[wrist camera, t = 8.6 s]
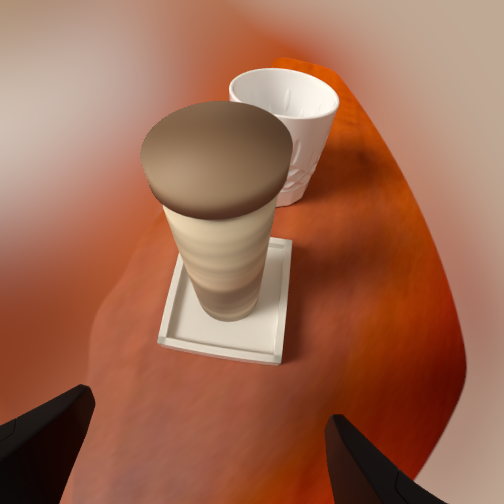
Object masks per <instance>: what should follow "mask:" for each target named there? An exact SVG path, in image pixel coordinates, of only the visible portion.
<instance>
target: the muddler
mask: <svg viewBox="0 0 504 504" xmlns="http://www.w3.org/2000/svg"><path fill="white" fill-rule="evenodd" d="M292 152H293V141H292V137H291V134H290V132H289V130H288V129H287V127H286V126H285V125H284V124H283V122H282V121H281V120H279V119H278V118H277V117H276V116H274V115H273V114H271V113H270V112H268V111H266V110H264V109H261V108H259V107H256V106H253V105H250V104H246V103H241V102H233V101H213V102H205V103H199V104H195V105H191V106H188V107H185V108H182V109H180V110H177V111H175V112H173V113H171V114H170V115H168V116H166V117H165V118H163V119H162V120H161V121H159V122H158V123H157V124H156V125H155V126H154V127H153V128H152V129H151V130H150V132H149V133H148V134H147V136H146V137H145V139H144V142H143V144H142V148H141V162H142V166H143V169H144V172H145V174H146V177H147V180H148V183H149V186H150V188H151V191H152V193H153V194H154V196H155V197H156V199H157V200H159V202H160V203H161V204H162V205H163V208H164V211H165V214H166V217H167V219H168V222H169V225H170V228H171V231H172V233H173V236H174V239H175V241H176V244H177V247H178V249H179V252H180V255H181V257H182V260H183V263H184V265H185V268H186V270H187V273H188V275H189V278H190V280H191V283H192V285H193V288H194V290H195V293H196V295H197V298H198V300H199V302H200V305H201V307H202V308H203V310H204V311H205V312H206V313H207V314H208V315H209V316H210V317H212V318H214V319H216V320H219V321H223V322H234V321H238V320H241V319H243V318H245V317H246V316H247V315H249V314H250V313H251V312H252V311H253V309H254V308H255V306H256V304H257V301H258V297H259V292H260V287H261V282H262V277H263V271H264V266H265V261H266V256H267V251H268V245H269V240H270V235H271V229H272V224H273V218H274V213H275V208H276V202H277V197H278V194H279V192H280V191H281V190H282V188H283V187H284V184H285V182H286V180H287V176H288V172H289V167H290V162H291V157H292Z"/></svg>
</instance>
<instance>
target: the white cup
mask: <svg viewBox="0 0 504 504" xmlns="http://www.w3.org/2000/svg"><path fill="white" fill-rule="evenodd" d="M229 91H230V101H233V102H241V103H246V104H250V105H253V106H256V107H259V108H261V109H264V110H266V111H268V112H270V113H271V114H273V115H274V116H276V117H277V118H278V119H279V120H281V121H282V122H283V124H284V125H285V126H286V127H287V129H288V130H289V132H290V134H291V137H292V141H293V152H292V157H291V162H290V167H289V172H288V176H287V180H286V182H285V184H284V187H283V188H282V190H281V191H280V192H279V194H278V197H277V202H276V207H280V206H288V205H291V204H292V203H294V202H296V201H297V200H299V199H301V198H302V196H303V194H304V192H305V190H306V188H307V186H308V184H309V181H310V178H311V176H312V175H313V173H314V171H315V168H316V165H317V163H318V161H319V158H320V156H321V153H322V151H323V149H324V146H325V143H326V140H327V137H328V135H329V132H330V129H331V126H332V123H333V120H334V118H335V115H336V112H337V109H338V106H339V98H338V96H337V94H336V92H335V91H334V90H333V89H332V88H331V87H330V86H329V85H327V84H326V83H324V82H323V81H321V80H319V79H317V78H315V77H313V76H311V75H308V74H305V73H302V72H298V71H293V70H288V69H278V68H268V69H257V70H252V71H248V72H245V73H243V74H241V75H239V76H237V77H236V78H235V79H234V80H233V81H232V82H231V84H230V87H229Z"/></svg>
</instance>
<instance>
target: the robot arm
mask: <svg viewBox="0 0 504 504" xmlns="http://www.w3.org/2000/svg"><path fill="white" fill-rule="evenodd" d="M94 408H95V399H94V396H93V393H92V391H91V388H90V387H89V386H86V385H83V384H80V385H78V386H76V387H74V388H72V389H70V390H68V391H67V392H65V393H63V394H61V395H59V396H57V397H55V398H53V399H52V400H50V401H48V402H46V403H44V404H42V405H40V406H38V407H36V408H35V409H33V410H31V411H29V412H27V413H25V414H23V415H21V416H19V417H17V419H16V418H15V419H13V420H11V421H9V422H7V423H5V424H3V425H0V504H59V503H60V500H61V497H62V494H63V491H64V489H65V486H66V484H67V481H68V478H69V476H70V473H71V471H72V468H73V466H74V463H75V461H76V458H77V456H78V453H79V451H80V448H81V446H82V444H83V441H84V439H85V437H86V434H87V431H88V427H89V424H90V421H91V417H92V414H93V411H94ZM325 442H326V455H327V466H328V472H329V477H330V481H331V486H332V491H333V496H334V501H335V504H447V503H445V502H444V501H442V500H440V499H438V498H437V497H435V496H434V495H433V494H431V493H429V492H428V491H426V490H425V489H423V488H422V487H421V486H419V485H418V484H416V483H415V482H414V481H413V480H411V479H410V478H409V477H408V476H407V475H405V474H404V473H403V472H402V471H401V470H399V468H398V467H397V466H395V465H394V464H393V463H392V462H391V461H390V460H389V459H388V458H387V457H386V456H385V455H384V454H383V453H382V452H380V451H379V450H378V449H377V448H376V447H375V446H374V445H373V444H372V443H371V442H370V441H369V440H368V439H367V438H366V437H365V436H364V435H363V434H362V433H361V432H360V431H359V430H358V429H357V428H356V427H355V426H354V425H353V424H352V423H351V422H350V421H349V420H348V419H347V418H346V417H345V416H343V415H342V414H333V415H331V416H330V418H329V420H328V423H327V425H326V428H325Z"/></svg>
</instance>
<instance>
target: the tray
mask: <svg viewBox="0 0 504 504" xmlns="http://www.w3.org/2000/svg"><path fill="white" fill-rule="evenodd" d="M291 249H292V240H286V239H279V238H272V237H270V240H269V245H268V251H267V256H266V261H265V266H264V271H263V277H262V282H261V287H260V292H259V297H258V301H257V304H256V306H255V308H254V309H253V311H252V312H251V313H250V314H249V315H247V316H246V317H245V318H243V319H241V320H238V321H234V322H223V321H219V320H216V319H214V318H212V317H210V316H209V315H208V314H207V313H206V312H205V311H204V310H203V308H202V307H201V305H200V302H199V300H198V298H197V295H196V293H195V290H194V288H193V285H192V283H191V280H190V278H189V275H188V273H187V270H186V268H185V265H184V263H183V260H182V257H181V255H180V252H179V256H178V259H177V263H176V267H175V270H174V274H173V278H172V282H171V286H170V290H169V294H168V298H167V302H166V306H165V310H164V314H163V318H162V323H161V327H160V332H159V336H158V341H157V343H158V344H160V345H161V346H163V347H165V348H169V349H174V350H178V351H183V352H188V353H193V354H199V355H204V356H210V357H216V358H222V359H228V360H234V361H241V362H248V363H256V364H264V365H273V366H278V365H279V364H281V358H282V349H283V339H284V330H285V320H286V309H287V299H288V287H289V275H290V262H291Z"/></svg>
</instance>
